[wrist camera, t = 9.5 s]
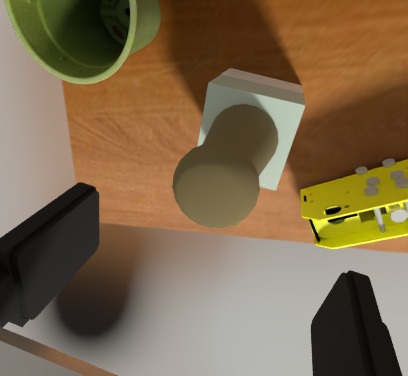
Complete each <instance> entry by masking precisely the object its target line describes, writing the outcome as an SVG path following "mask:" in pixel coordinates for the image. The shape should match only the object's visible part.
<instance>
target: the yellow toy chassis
mask: <svg viewBox="0 0 408 376" xmlns="http://www.w3.org/2000/svg"><path fill="white" fill-rule="evenodd" d="M382 164H383V166H382V167H379V168H375V169H372V170H368V171H367V167H365V166H362V167H358V168H357V169H356V170H355V171H356V174H354V175H350V176H347V177H343V178H340V179H336V180H333V181H329V182H326V183H322V184H319V185H315V186H312V187H308V188H305V189H301V190H300V193H301V216H302V218H306V219H308V221H309V224H310V226H311V229H312V231H313V234H314V242H315V245H316V246H321V247H325V248H330V249H338V248H343V247H349V246H354V245H359V244H365V243H370V242H375V241H381V240H386V239H391V238H396V237H402V236H407V235H408V159H407V160H403V161H400V162H396V163H395V161H394V159H386V160H384V161H382Z"/></svg>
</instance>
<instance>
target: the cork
mask: <svg viewBox="0 0 408 376" xmlns="http://www.w3.org/2000/svg"><path fill="white" fill-rule="evenodd" d="M277 146H278V131H277V128H276V126H275V123H274V121H273V120H272V119H271V117H270V116H269V115H268V114H267V113H266V112H265V111H263V110H261V109H260V108H258V107H256V106H252V105H248V104H239V105H233V106H231V107H229V108H226V109H224V110H223V111H222V112H221V113H220V114H219V115H218V116H217V117H216V118H215V120H214V122H213V124H212V126H211V128H210V130H209V132H208V134H207V136H206V138H205V140H204V142H203V144H202V145H200V146H198V147H195V148H193V149H192V150H191V151H190V152H189V153H187V154H186V155H185V156H184V157H183V158H182V159H181V160H180V162H179V164H178V166H177V168H176V170H175V173H174V177H173V191H174V196H175V199H176V202H177V203H178V205H179V207H180V209H181V211H182V212H183V213H184V214H185V215H186V216H187V217H188V218H189V219H191V220H193V221H194V222H196V223H197V224H199V225H202V226H206V227H209V228H225V227H229V226H232V225H236V224H237V223H239V222H240V221H242V220H244V219H245V218H246V217H247V216H248V215H249V213H250V212H251V211H252V209H253V208H254V207H255V205H256V202H257V198H258V195H259V191H260V185H259V176H260V174H261V173H262V171H263V170H264V168H265V167H266V166H267V164H268V163H269V161H270V160H271V158H272V157H273V155H274V154H275V152H276V149H277Z"/></svg>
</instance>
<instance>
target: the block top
mask: <svg viewBox="0 0 408 376" xmlns="http://www.w3.org/2000/svg"><path fill="white" fill-rule="evenodd" d="M239 104H248V105H252V106H256V107H258V108H260V109H261V110H263V111H265V112H266V113H267V114H268V115H269V116H270V117H271V119H272V120H273V121H274V123H275V126H276V128H277V131H278V146H277V149H276V152H275V154H274V155H273V157H272V158H271V160H270V161H269V163H268V164H267V166H266V167H265V168H264V170H263V171H262V173H261V174H260V176H259V185H260V187H264V188H267V189H271V190H274V191H276V188H277V186H278V183H279V180H280V177H281V174H282V171H283V168H284V166H285V163H286V160H287V157H288V154H289V151H290V148H291V146H292V143H293V140H294V137H295V134H296V131H297V128H298V126H299V123H300V120H301V117H302V114H303V111H304V108H305V106H306V105H305V98H304V93H300V92H295V91H291V90H287V89H282V88H278V87H274V86H269V85H265V84H261V83H256V82H252V81H247V80H243V79H239V78H234V77H230V76H226V75H220V76H218V77H216V78H215V79H213V80H212V81H210V82H209V83H208V88H207V93H206V99H205V105H204V111H203V117H202V123H201V129H200V135H199V140H198V146H200V145H202V144H203V142H204V140H205V138H206V136H207V134H208V132H209V130H210V128H211V126H212V124H213V122H214V120H215V118H216V117H217V116H218V115H219V114H220V113H221V112H222V111H223V110H224V109H226V108H229V107H231V106H233V105H239ZM198 146H197V147H198Z"/></svg>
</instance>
